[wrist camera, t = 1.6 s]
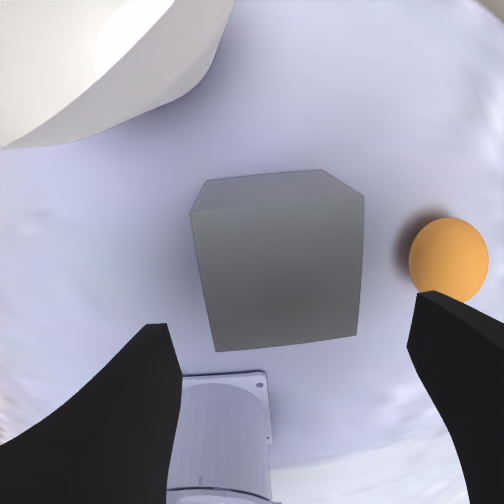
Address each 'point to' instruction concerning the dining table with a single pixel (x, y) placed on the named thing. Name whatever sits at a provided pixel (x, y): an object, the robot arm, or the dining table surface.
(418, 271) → the ball
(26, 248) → the dining table surface
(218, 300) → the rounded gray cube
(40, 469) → the robot arm
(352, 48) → the dining table surface
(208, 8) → the cup
